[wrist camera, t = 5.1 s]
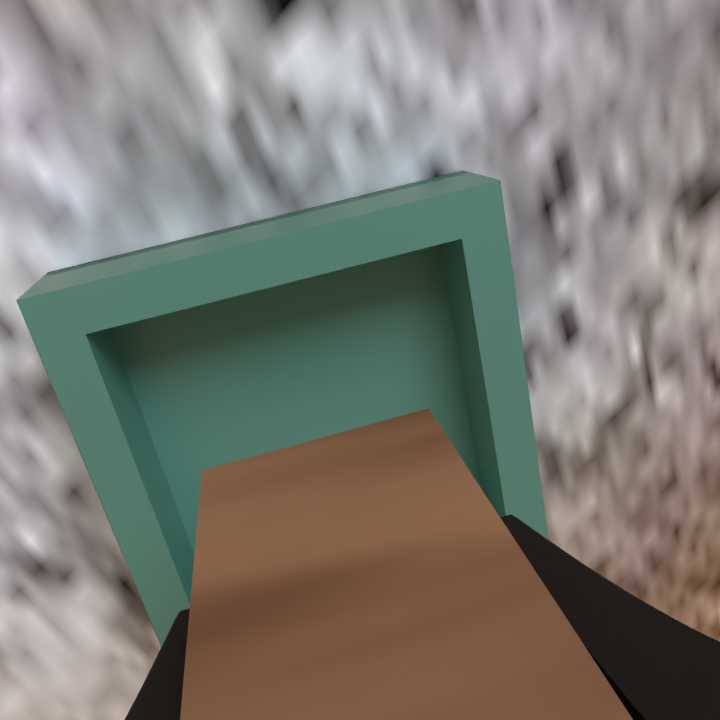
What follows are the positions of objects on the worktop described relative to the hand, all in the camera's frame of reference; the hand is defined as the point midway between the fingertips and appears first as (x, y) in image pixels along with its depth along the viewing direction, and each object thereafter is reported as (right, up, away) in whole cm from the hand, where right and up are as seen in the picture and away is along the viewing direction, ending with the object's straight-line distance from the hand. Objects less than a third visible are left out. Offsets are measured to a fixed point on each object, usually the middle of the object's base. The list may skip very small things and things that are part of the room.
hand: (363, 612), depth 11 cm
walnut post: (0, +1, +2) cm, 2 cm away
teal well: (-1, +3, +7) cm, 8 cm away
